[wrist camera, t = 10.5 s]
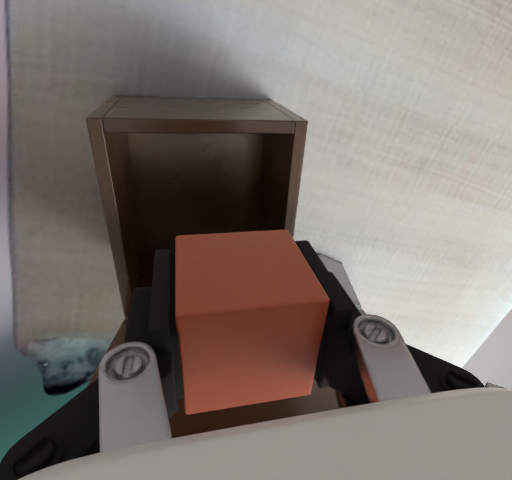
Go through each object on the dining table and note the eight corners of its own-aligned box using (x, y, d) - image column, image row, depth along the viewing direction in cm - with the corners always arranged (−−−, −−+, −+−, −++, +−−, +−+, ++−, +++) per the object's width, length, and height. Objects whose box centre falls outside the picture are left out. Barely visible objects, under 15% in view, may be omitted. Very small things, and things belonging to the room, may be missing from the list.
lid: (27, 490, 10) (43, 629, 10) (410, 417, 12) (409, 531, 13) (123, 319, 25) (128, 378, 25) (286, 302, 27) (288, 356, 28)
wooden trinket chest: (112, 95, 25) (85, 117, 18) (272, 100, 28) (308, 120, 20) (136, 256, 32) (125, 320, 25) (262, 248, 35) (285, 304, 28)
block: (182, 322, 13) (184, 416, 10) (175, 234, 11) (174, 315, 8) (278, 311, 14) (311, 395, 11) (288, 228, 12) (331, 299, 9)
